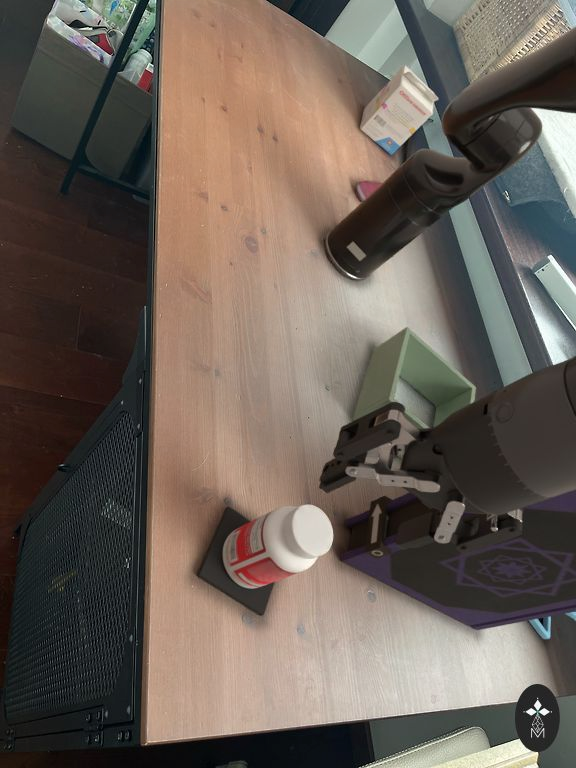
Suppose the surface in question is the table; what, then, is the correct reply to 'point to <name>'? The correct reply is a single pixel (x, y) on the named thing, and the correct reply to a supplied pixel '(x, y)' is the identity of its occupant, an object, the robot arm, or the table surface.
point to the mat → (216, 570)
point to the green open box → (413, 378)
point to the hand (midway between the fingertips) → (362, 509)
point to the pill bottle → (277, 545)
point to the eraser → (366, 189)
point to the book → (474, 563)
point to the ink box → (398, 110)
